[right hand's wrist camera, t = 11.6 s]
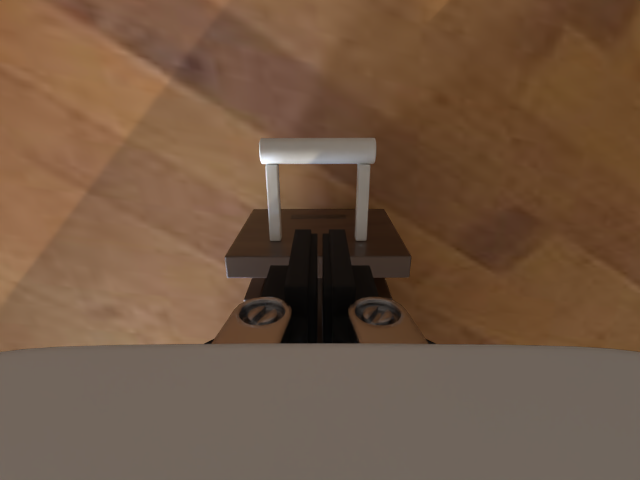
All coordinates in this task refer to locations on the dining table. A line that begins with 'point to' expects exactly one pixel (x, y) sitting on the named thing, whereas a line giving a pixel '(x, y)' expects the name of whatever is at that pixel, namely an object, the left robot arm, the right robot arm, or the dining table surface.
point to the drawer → (317, 219)
